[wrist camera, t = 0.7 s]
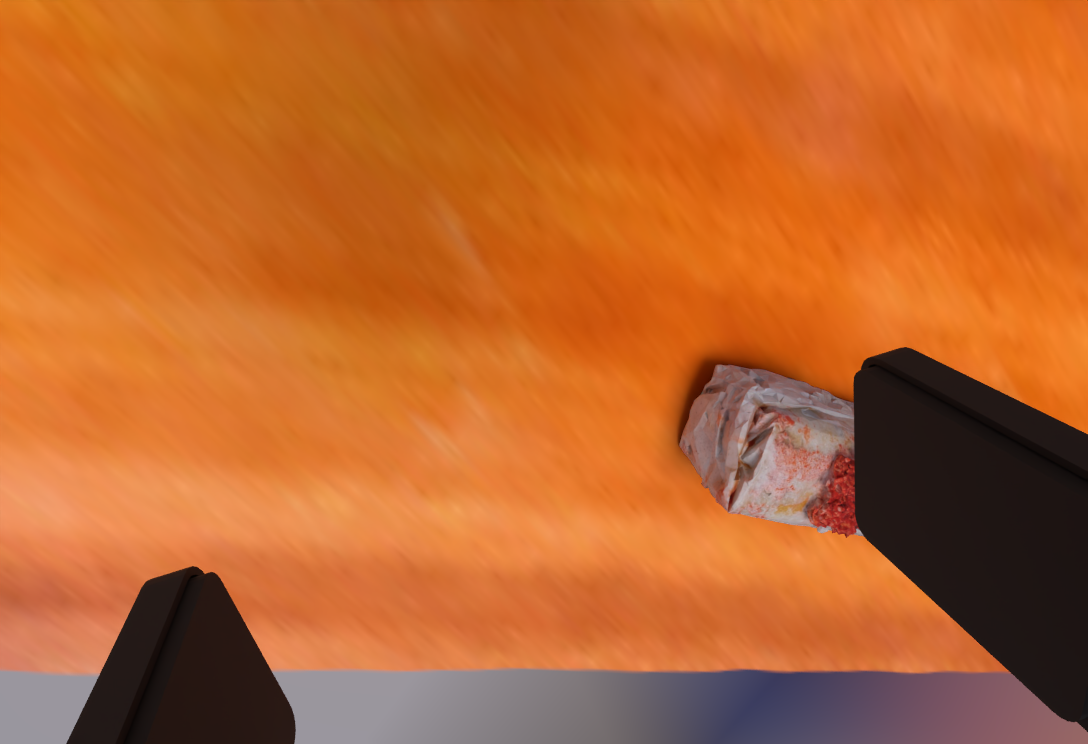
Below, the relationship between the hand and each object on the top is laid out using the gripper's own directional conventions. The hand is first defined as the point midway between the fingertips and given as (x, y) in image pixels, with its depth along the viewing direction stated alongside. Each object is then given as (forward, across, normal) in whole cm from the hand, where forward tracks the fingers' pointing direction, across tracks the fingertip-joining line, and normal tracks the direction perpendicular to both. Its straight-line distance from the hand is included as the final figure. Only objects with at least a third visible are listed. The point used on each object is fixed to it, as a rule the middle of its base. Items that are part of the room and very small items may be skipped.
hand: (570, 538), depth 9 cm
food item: (+27, -17, +18) cm, 37 cm away
